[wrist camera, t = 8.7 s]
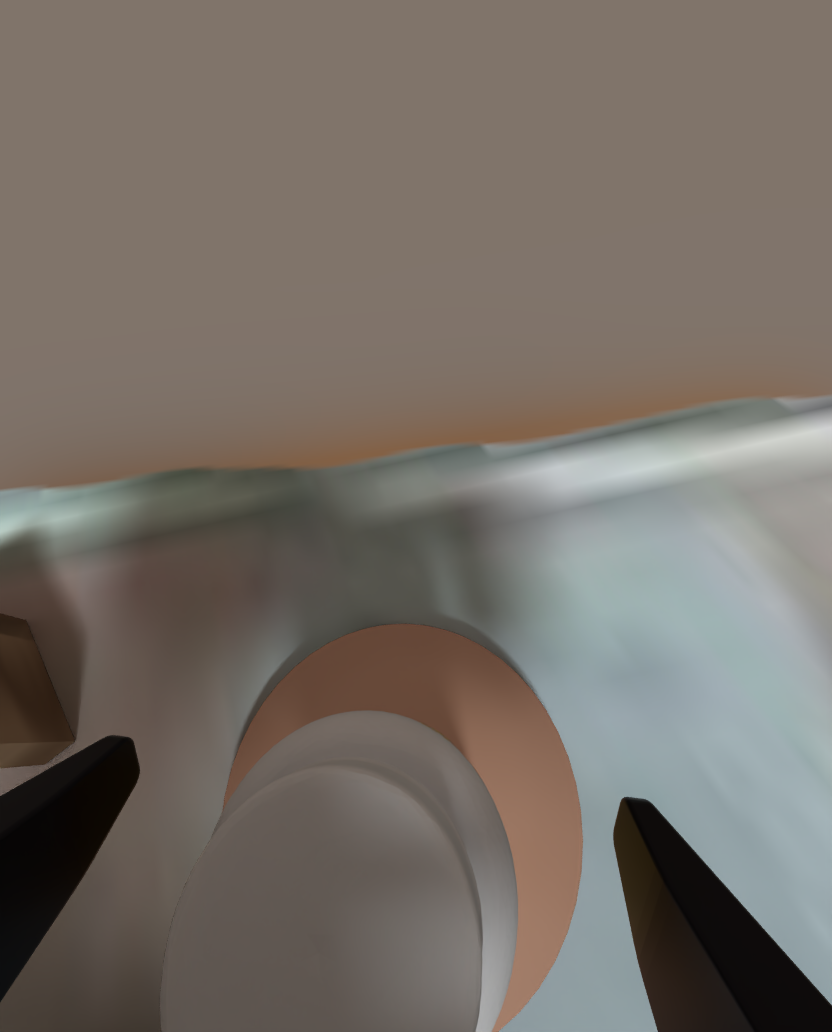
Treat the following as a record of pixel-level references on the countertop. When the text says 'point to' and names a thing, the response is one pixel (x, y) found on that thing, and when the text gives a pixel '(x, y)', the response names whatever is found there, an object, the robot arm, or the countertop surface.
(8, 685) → the open wooden frame
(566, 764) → the terracotta saucer
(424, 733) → the supplement bottle
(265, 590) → the countertop surface
